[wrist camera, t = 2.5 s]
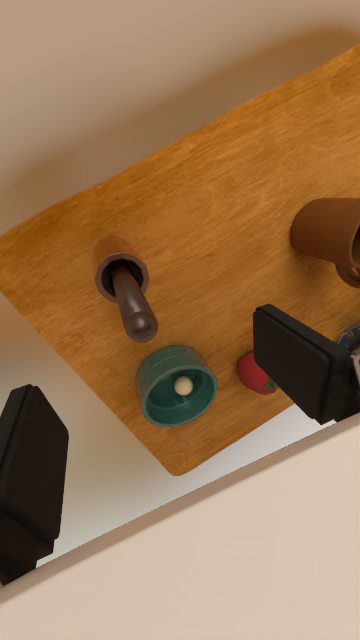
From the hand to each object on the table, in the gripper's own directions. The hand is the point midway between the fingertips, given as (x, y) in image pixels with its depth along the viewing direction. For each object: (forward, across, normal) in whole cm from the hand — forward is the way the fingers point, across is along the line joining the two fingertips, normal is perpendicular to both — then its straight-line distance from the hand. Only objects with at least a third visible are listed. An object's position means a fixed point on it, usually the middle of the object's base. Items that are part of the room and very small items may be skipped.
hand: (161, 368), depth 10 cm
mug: (+21, -29, +4) cm, 36 cm away
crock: (+21, 0, 0) cm, 21 cm away
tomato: (+22, -18, +24) cm, 36 cm away
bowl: (+21, -3, +20) cm, 29 cm away
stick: (+20, 0, 0) cm, 20 cm away
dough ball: (+19, -4, +22) cm, 29 cm away
